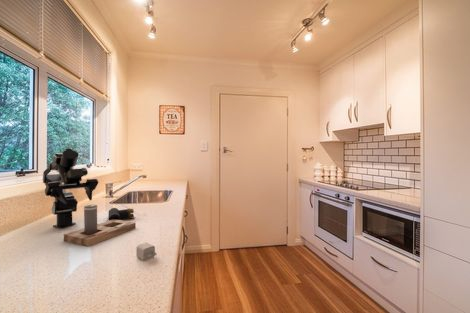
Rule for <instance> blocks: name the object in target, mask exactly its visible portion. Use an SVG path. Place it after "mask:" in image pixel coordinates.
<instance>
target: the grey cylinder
mask: <svg viewBox="0 0 470 313" xmlns="http://www.w3.org/2000/svg"><path fill="white" fill-rule="evenodd" d="M83 212H84V215H83V219H84V220H83V224H84V227H83V228H84V235H91V234H94V233H97V224H98V205H97V204H87V205H84V206H83Z"/></svg>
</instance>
